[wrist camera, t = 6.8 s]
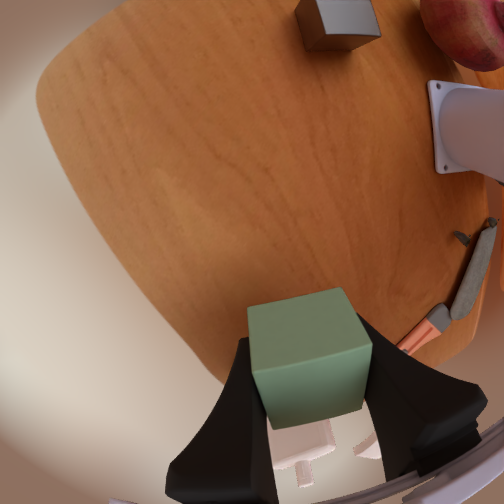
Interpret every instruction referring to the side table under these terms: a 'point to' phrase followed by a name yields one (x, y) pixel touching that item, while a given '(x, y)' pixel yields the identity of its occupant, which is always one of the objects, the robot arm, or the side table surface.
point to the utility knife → (426, 329)
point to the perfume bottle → (300, 447)
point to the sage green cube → (308, 357)
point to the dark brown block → (336, 24)
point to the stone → (474, 275)
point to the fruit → (467, 31)
